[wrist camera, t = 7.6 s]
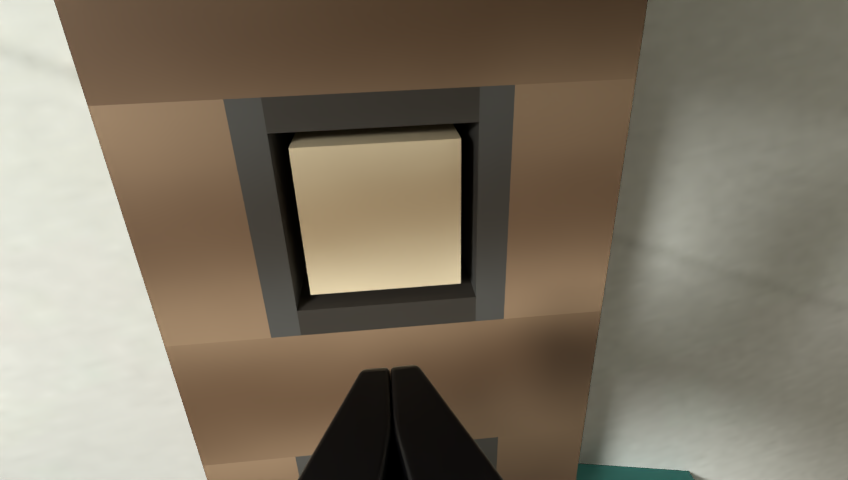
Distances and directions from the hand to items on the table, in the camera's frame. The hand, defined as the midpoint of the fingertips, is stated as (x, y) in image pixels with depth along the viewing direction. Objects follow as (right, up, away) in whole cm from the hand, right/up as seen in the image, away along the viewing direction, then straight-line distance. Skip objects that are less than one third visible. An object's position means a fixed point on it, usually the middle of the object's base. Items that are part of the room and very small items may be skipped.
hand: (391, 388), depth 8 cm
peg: (-1, +5, +11) cm, 12 cm away
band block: (-1, 0, +13) cm, 13 cm away
